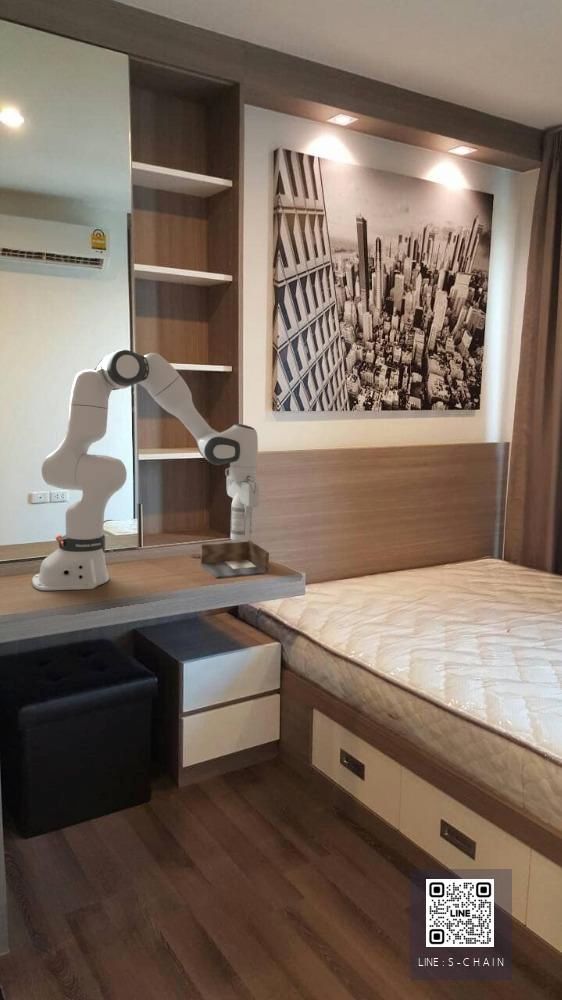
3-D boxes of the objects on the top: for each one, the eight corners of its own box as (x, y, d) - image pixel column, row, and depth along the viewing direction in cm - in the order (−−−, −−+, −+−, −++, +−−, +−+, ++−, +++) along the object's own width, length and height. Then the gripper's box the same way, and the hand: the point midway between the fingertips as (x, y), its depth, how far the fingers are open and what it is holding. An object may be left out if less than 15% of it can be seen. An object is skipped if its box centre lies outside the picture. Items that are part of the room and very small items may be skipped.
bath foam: (242, 535, 246) (244, 478, 241) (255, 540, 241) (257, 481, 236) (226, 538, 241) (227, 480, 237) (238, 543, 236) (240, 483, 232)
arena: (216, 578, 228) (216, 557, 227) (200, 564, 242) (200, 544, 241) (268, 573, 236) (269, 553, 234) (249, 560, 250) (250, 540, 248)
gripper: (264, 479, 228) (263, 521, 231) (240, 468, 246) (239, 507, 249) (246, 479, 226) (244, 522, 229) (223, 468, 244) (222, 508, 247)
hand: (241, 514), depth 239 cm, fingers closed on bath foam, 7 cm apart
